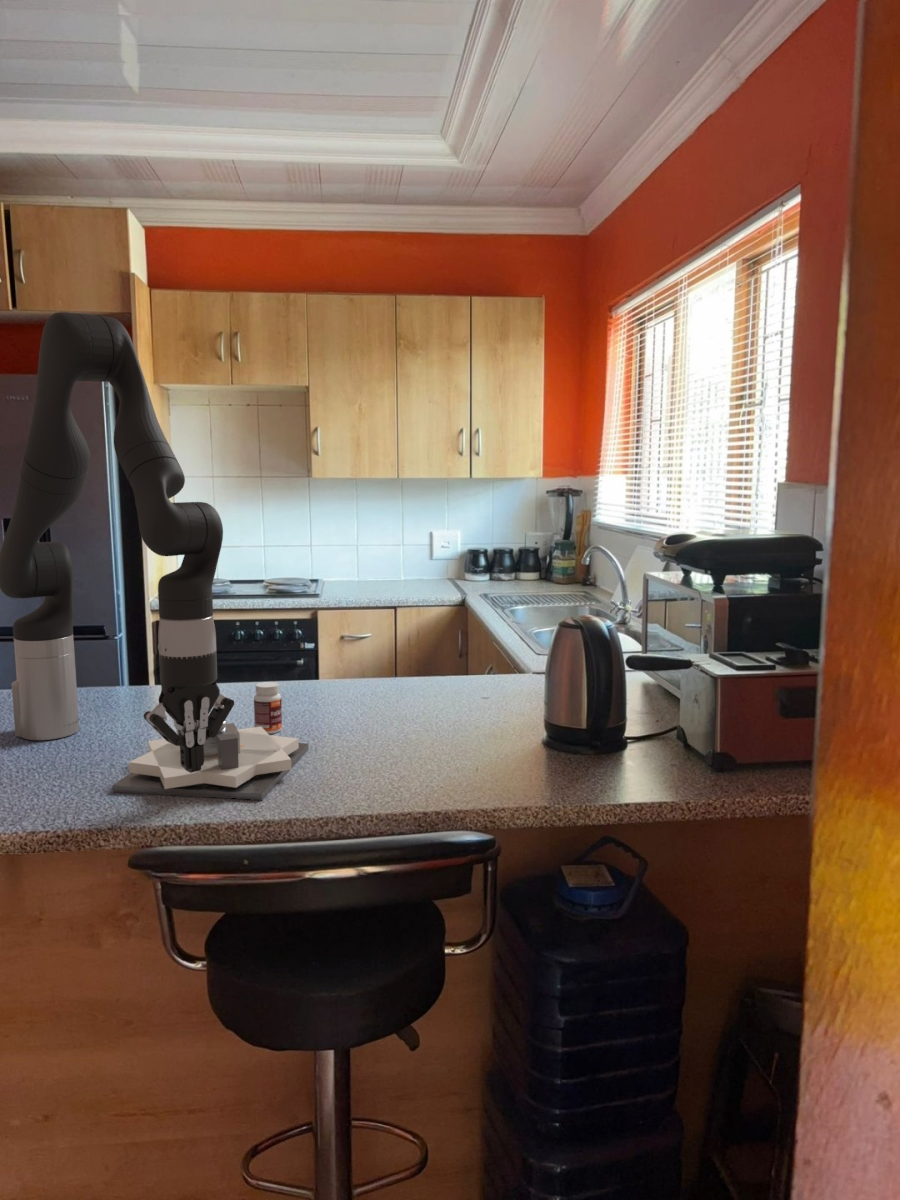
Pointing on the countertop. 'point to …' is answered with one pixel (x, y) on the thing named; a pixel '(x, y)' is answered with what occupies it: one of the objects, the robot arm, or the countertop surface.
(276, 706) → the pill bottle
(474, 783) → the countertop surface
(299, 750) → the base
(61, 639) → the robot arm
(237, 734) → the cover
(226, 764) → the turntable
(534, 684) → the countertop surface
